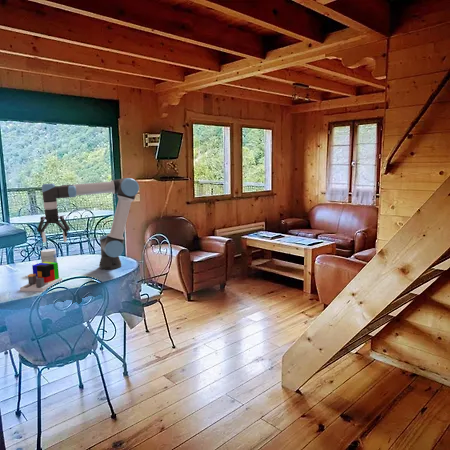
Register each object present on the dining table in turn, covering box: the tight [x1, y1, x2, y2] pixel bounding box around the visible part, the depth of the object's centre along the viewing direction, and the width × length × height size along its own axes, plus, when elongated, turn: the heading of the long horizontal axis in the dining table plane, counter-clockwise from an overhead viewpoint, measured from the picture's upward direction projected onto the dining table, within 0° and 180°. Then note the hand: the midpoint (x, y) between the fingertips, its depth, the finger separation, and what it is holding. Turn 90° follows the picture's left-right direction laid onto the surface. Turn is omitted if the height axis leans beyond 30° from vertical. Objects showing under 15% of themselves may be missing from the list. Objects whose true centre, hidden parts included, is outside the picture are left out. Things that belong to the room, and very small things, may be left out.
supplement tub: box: [40, 248, 58, 263], centre depth 264 cm, size 10×10×15 cm
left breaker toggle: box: [36, 278, 44, 287], centre depth 223 cm, size 3×3×4 cm
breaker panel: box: [19, 276, 63, 292], centre depth 232 cm, size 14×21×2 cm, turn 174°
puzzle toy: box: [32, 261, 60, 283], centre depth 236 cm, size 10×10×10 cm
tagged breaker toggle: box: [27, 273, 36, 284], centre depth 229 cm, size 3×3×5 cm
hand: (55, 242), depth 243 cm, fingers open, 13 cm apart
